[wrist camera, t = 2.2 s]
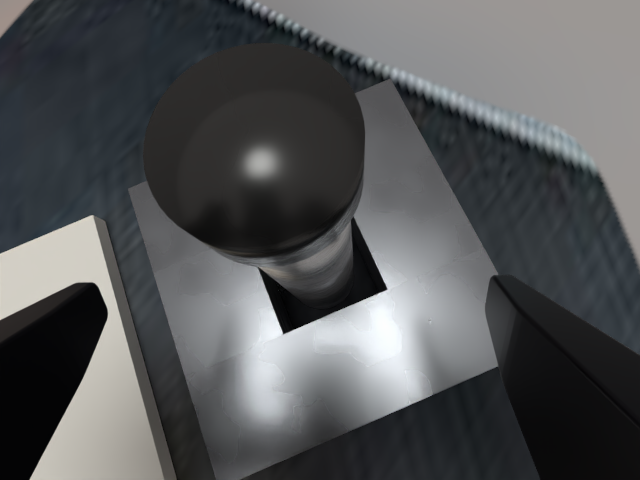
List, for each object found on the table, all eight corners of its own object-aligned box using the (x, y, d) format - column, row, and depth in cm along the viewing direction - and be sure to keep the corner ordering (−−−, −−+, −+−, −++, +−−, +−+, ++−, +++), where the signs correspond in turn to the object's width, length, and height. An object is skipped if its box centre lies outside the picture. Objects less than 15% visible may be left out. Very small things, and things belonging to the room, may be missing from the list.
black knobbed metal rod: (373, 296, 19) (404, 190, 6) (300, 328, 19) (180, 286, 6) (341, 227, 20) (313, 12, 7) (272, 257, 20) (119, 92, 7)
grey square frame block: (504, 348, 18) (539, 348, 14) (245, 461, 17) (218, 488, 14) (384, 122, 21) (390, 78, 17) (165, 215, 21) (128, 188, 17)
